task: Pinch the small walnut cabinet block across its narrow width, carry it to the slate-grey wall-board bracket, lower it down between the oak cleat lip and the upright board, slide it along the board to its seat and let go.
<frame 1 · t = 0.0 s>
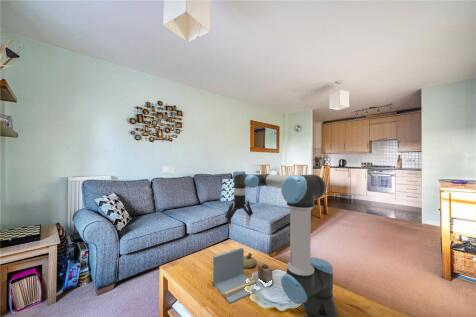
hand: (239, 227, 128), 28 cm above the table, fingers open, 13 cm apart
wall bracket: (236, 286, 110), on the table
cabinet block: (265, 283, 114), on the table
acorn cap: (248, 265, 135), on the table
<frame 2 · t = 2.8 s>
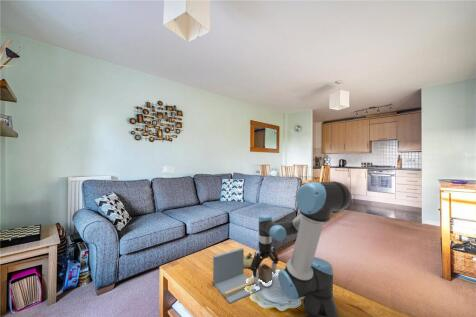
hand: (264, 278, 115), 3 cm above the table, fingers open, 13 cm apart
nothing on the table moved.
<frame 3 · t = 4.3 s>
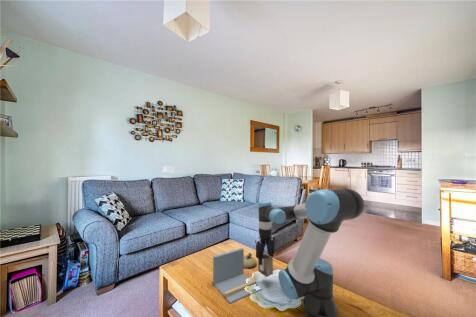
hand: (265, 268, 114), 9 cm above the table, fingers closed on cabinet block, 5 cm apart
cabinet block: (265, 272, 114), point 6 cm above the table, touching gripper
everything else where it was.
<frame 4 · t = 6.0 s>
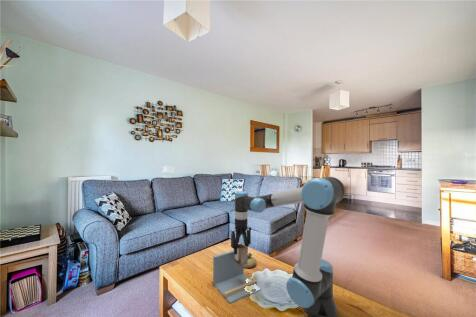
hand: (240, 258, 114), 14 cm above the table, fingers closed on cabinet block, 5 cm apart
cabinet block: (240, 262, 114), point 12 cm above the table, touching gripper
everything else where it was.
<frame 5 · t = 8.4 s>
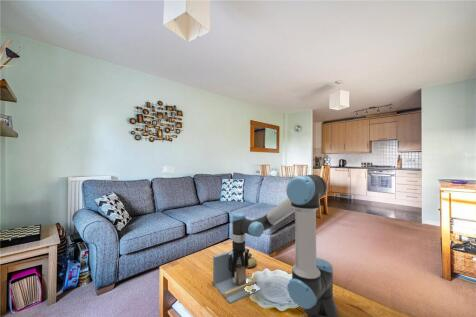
hand: (238, 280, 113), 2 cm above the table, fingers closed on cabinet block, 5 cm apart
cabinet block: (238, 282, 113), point 1 cm above the table, touching gripper
everything else where it was.
when the fingers open (2 cm above the table, at t = 9.7 s): cabinet block stays where it is, resting on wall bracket.
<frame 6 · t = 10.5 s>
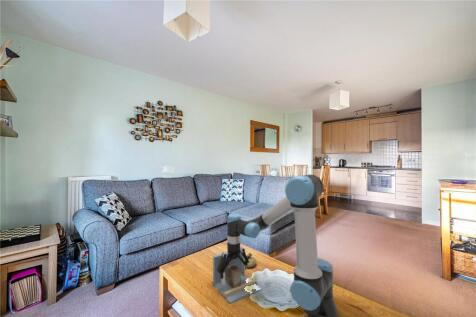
hand: (233, 279, 111), 4 cm above the table, fingers open, 13 cm apart
cabinet block: (233, 284, 111), point 1 cm above the table, touching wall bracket
everything else where it was.
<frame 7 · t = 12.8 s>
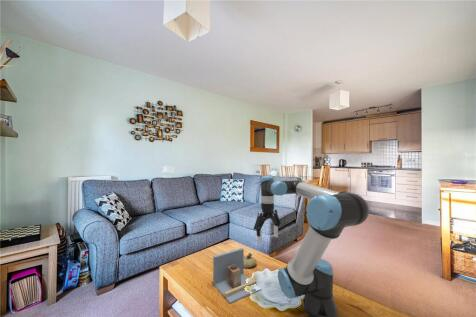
hand: (268, 239, 115), 25 cm above the table, fingers open, 13 cm apart
nothing on the table moved.
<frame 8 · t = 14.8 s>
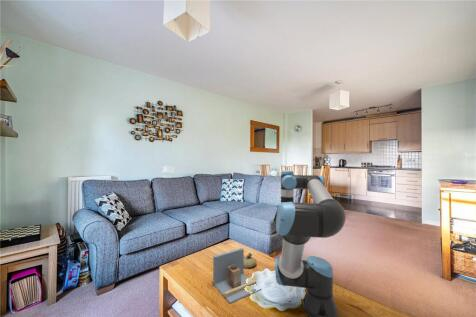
hand: (287, 231, 118), 29 cm above the table, fingers open, 13 cm apart
nothing on the table moved.
at the end: cabinet block inside the target area (0.3 cm from its centre), point 0.8 cm above the table; cabinet block tilted 0°; the gripper is holding nothing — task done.
